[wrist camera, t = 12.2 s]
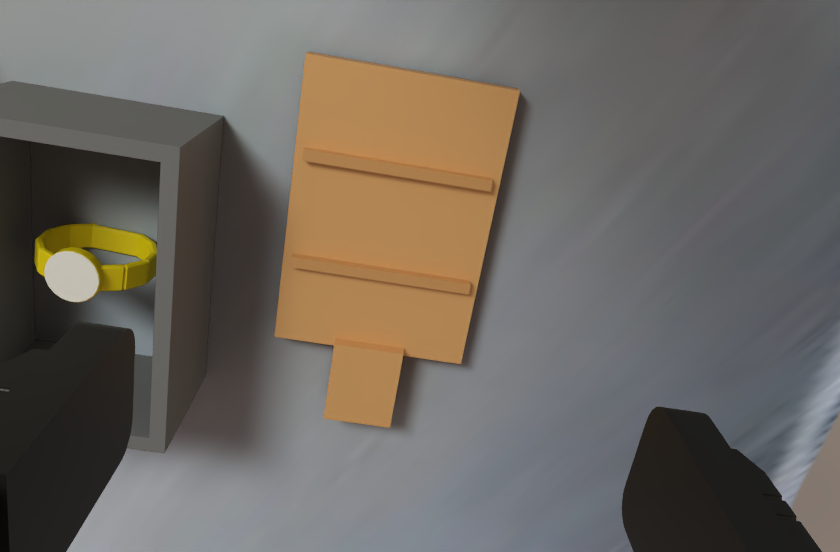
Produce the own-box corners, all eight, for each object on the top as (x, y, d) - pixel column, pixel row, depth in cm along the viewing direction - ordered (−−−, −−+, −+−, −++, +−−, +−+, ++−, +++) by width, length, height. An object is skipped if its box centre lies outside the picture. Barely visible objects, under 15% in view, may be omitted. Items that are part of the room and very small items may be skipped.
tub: (12, 80, 39) (-83, 104, 31) (223, 116, 39) (180, 147, 32) (21, 349, 44) (-58, 423, 37) (205, 375, 45) (164, 453, 38)
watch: (67, 249, 43) (7, 287, 37) (70, 204, 42) (8, 236, 36) (169, 274, 43) (124, 315, 37) (174, 229, 42) (129, 265, 36)
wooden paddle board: (310, 50, 39) (303, 54, 36) (515, 86, 39) (522, 93, 37) (272, 387, 46) (264, 410, 44) (445, 412, 47) (447, 435, 44)
